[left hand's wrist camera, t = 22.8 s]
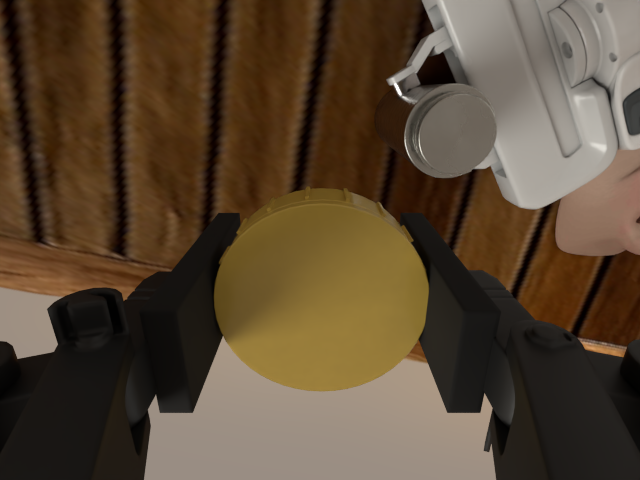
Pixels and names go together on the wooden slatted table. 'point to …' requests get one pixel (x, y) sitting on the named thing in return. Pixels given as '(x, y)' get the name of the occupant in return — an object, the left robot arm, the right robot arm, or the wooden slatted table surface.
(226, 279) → the lid
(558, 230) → the anatomical model
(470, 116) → the jar
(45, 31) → the wooden slatted table surface
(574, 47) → the right robot arm
